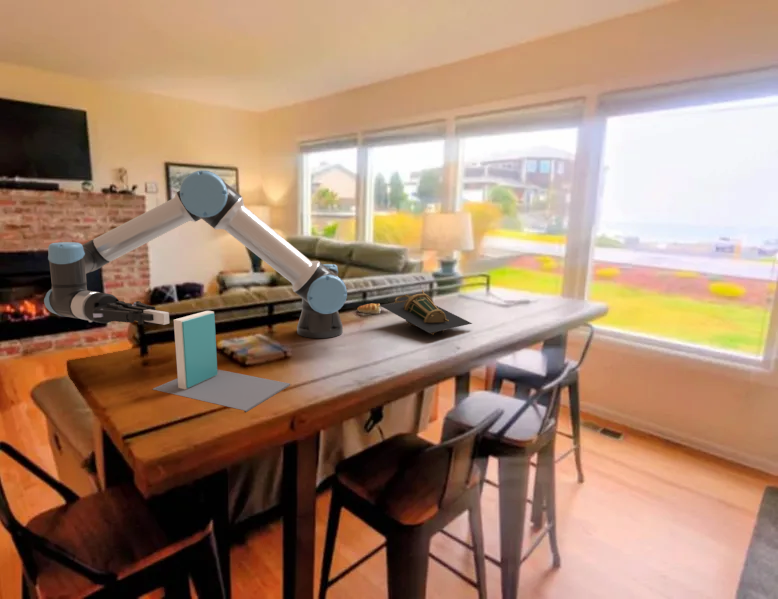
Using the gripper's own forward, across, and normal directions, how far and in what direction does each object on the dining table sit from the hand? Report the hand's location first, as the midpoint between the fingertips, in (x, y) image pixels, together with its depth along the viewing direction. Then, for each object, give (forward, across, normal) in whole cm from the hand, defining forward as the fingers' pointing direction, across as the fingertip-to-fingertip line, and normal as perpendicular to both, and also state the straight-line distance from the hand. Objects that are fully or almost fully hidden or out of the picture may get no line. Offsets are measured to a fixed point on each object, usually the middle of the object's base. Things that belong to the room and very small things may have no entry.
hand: (166, 318), depth 108 cm
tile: (+9, 0, -14) cm, 17 cm away
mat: (+16, 0, -15) cm, 22 cm away
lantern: (+40, -73, -14) cm, 84 cm away
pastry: (+15, -86, -14) cm, 89 cm away
